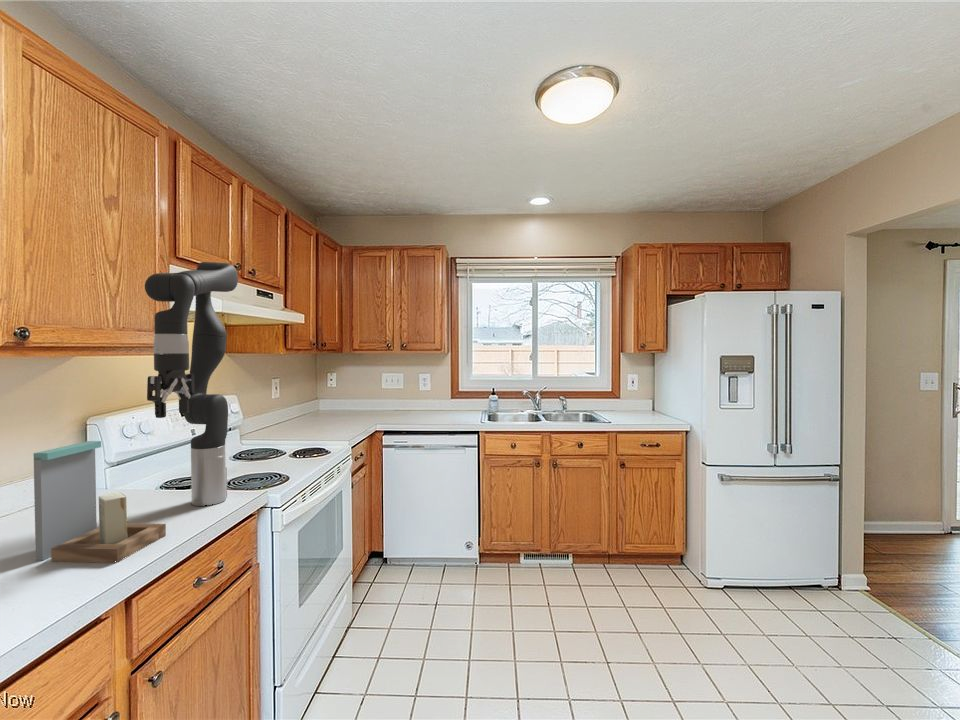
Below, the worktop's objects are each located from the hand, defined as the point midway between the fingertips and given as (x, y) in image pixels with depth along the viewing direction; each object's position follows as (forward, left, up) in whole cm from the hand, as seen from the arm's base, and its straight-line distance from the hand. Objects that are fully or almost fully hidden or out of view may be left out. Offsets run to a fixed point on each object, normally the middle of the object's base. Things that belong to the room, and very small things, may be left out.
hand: (172, 415), depth 119 cm
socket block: (+10, -8, -30) cm, 33 cm away
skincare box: (+10, -8, -30) cm, 33 cm away
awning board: (+10, -19, -30) cm, 37 cm away
